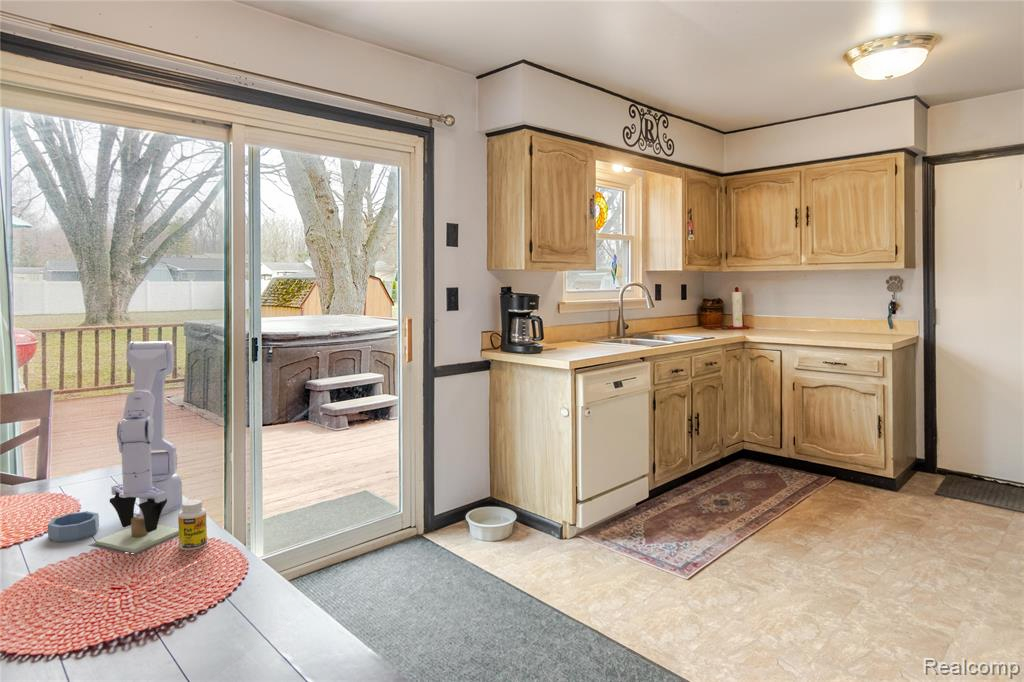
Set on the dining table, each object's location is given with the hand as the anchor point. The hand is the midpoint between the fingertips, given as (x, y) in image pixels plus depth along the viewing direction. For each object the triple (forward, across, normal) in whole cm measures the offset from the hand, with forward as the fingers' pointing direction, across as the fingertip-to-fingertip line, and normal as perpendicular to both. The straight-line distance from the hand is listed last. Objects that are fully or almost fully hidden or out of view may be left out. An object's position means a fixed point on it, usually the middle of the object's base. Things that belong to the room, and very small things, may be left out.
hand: (139, 528), depth 140 cm
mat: (+3, 0, 0) cm, 3 cm away
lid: (+2, 0, 0) cm, 2 cm away
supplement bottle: (+3, +14, +2) cm, 14 cm away
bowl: (+3, -16, -4) cm, 17 cm away
